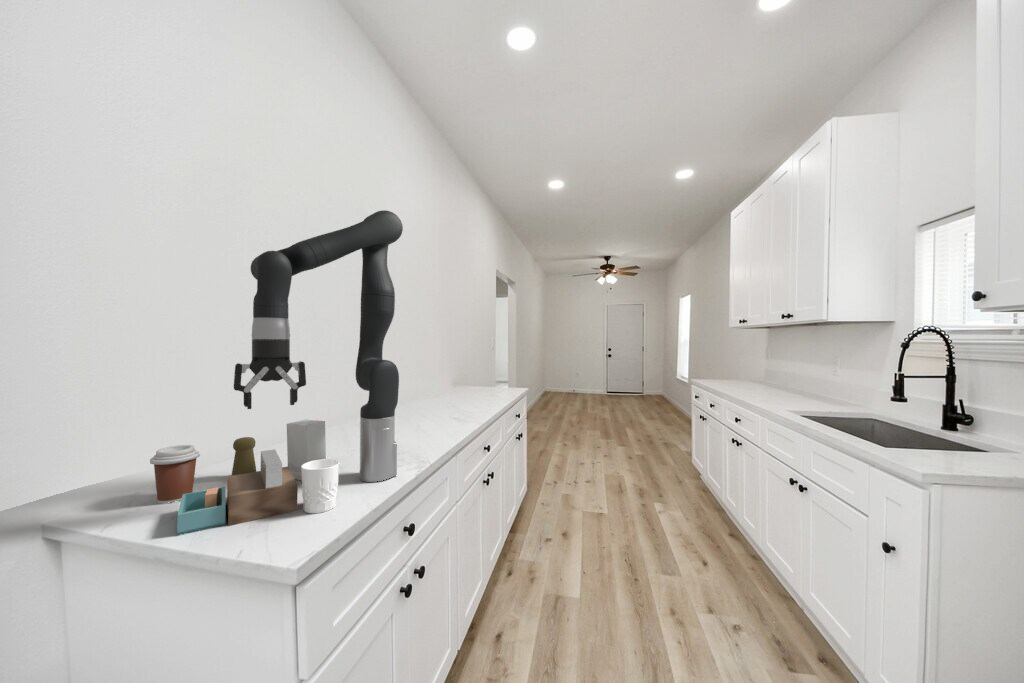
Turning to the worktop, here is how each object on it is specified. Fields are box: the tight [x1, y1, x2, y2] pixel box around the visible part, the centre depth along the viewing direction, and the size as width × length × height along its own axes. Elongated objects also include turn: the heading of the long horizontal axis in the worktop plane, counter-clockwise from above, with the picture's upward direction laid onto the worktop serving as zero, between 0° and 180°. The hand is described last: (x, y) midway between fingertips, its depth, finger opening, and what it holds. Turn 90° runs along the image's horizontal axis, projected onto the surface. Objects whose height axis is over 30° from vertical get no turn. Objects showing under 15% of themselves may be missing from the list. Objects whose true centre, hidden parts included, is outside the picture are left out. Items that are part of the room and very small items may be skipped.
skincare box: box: [286, 418, 327, 481], centre depth 108 cm, size 8×7×16 cm
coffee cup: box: [149, 444, 201, 504], centre depth 92 cm, size 9×9×12 cm
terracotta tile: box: [205, 487, 220, 508], centre depth 85 cm, size 4×4×2 cm
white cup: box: [301, 458, 340, 514], centre depth 88 cm, size 8×8×10 cm
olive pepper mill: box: [230, 436, 257, 476], centre depth 107 cm, size 6×6×11 cm
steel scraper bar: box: [260, 448, 283, 489], centre depth 89 cm, size 3×14×5 cm, turn 37°
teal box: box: [176, 486, 227, 536], centre depth 82 cm, size 8×13×4 cm, turn 38°
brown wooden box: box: [226, 465, 299, 527], centre depth 88 cm, size 12×15×6 cm
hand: (271, 406), depth 89 cm, fingers open, 8 cm apart
